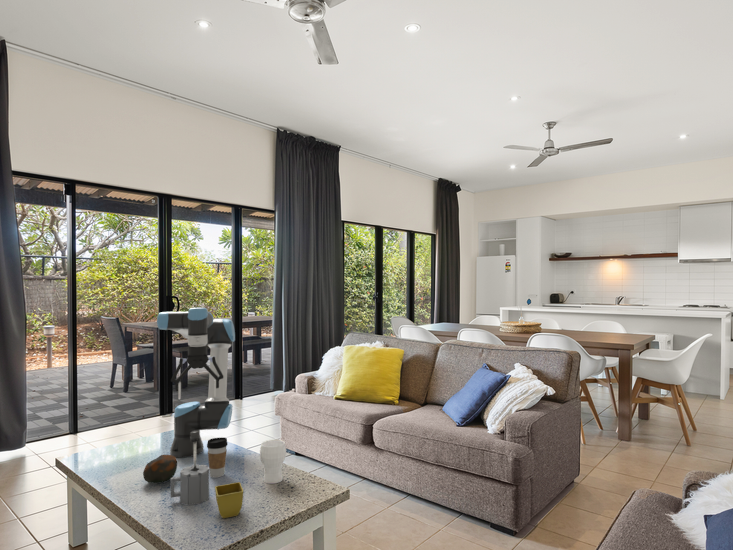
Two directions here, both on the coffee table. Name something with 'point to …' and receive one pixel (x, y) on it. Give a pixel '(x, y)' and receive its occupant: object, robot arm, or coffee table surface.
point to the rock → (160, 469)
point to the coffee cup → (217, 456)
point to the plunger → (195, 437)
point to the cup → (273, 460)
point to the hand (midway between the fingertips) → (197, 397)
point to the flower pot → (229, 499)
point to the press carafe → (192, 485)
